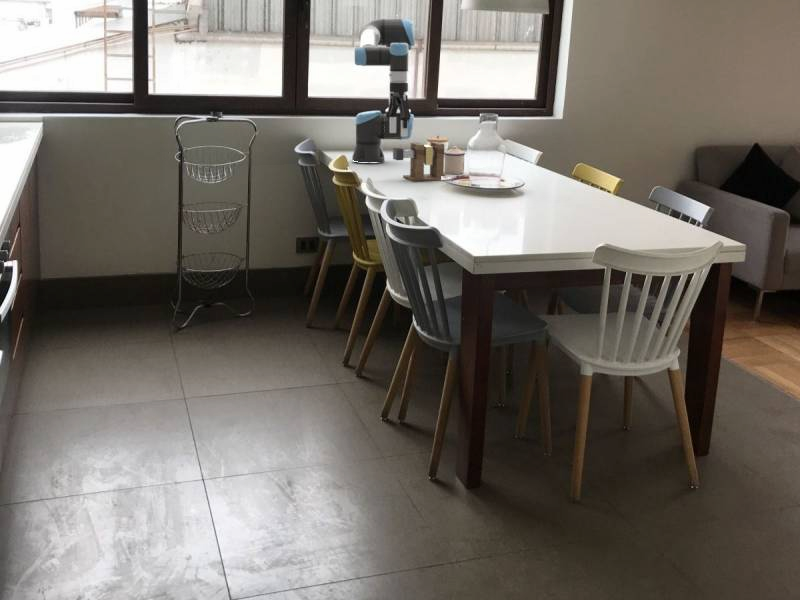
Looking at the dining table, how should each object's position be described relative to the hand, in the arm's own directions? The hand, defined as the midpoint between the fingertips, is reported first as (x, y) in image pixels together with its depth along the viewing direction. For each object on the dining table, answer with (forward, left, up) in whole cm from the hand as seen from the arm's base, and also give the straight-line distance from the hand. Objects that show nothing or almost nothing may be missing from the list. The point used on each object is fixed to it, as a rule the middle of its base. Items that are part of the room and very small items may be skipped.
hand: (398, 134), depth 393 cm
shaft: (0, +9, -10) cm, 13 cm away
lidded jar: (-67, +46, -19) cm, 83 cm away
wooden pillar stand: (0, +13, -19) cm, 23 cm away
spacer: (0, +13, -13) cm, 18 cm away
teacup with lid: (-13, +31, -19) cm, 38 cm away
